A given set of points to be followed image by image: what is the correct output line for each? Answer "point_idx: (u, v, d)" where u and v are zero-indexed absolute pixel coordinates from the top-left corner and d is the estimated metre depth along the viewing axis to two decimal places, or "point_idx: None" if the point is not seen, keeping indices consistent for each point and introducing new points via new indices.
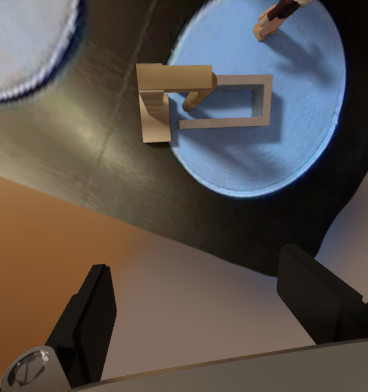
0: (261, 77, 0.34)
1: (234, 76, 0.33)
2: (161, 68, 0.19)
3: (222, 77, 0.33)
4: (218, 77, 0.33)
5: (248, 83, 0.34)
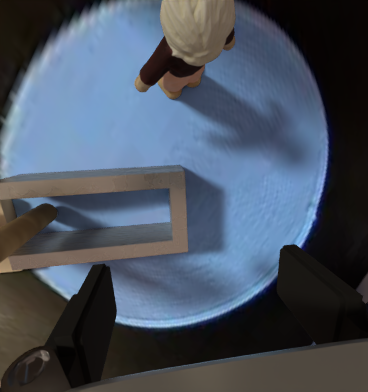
0: (162, 177, 0.18)
1: (107, 178, 0.17)
2: None
3: (81, 181, 0.17)
4: (73, 182, 0.17)
5: (138, 188, 0.18)
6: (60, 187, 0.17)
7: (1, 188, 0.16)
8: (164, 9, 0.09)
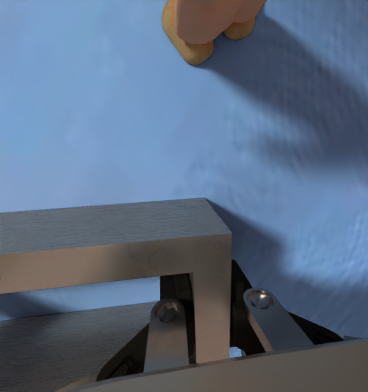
0: (176, 249, 0.07)
1: (29, 258, 0.06)
2: None
3: None
4: None
5: (113, 277, 0.07)
6: None
7: None
8: None
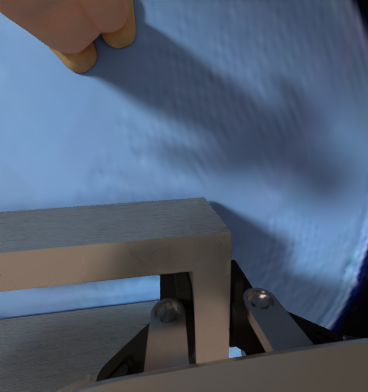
0: (176, 247, 0.07)
1: (30, 256, 0.06)
2: None
3: None
4: None
5: (114, 275, 0.07)
6: None
7: None
8: None
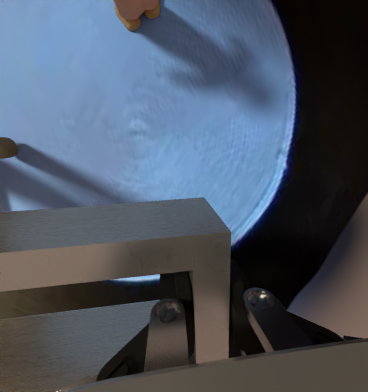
0: (175, 247, 0.07)
1: (31, 256, 0.07)
2: None
3: None
4: None
5: (114, 275, 0.07)
6: None
7: None
8: None
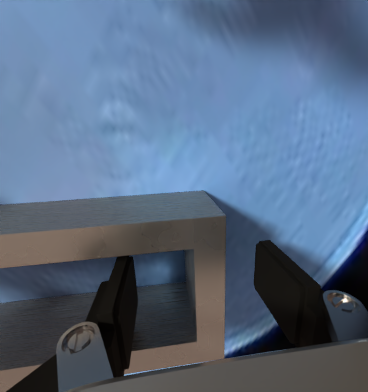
0: (179, 228, 0.08)
1: (60, 234, 0.08)
2: None
3: (2, 241, 0.08)
4: None
5: (128, 252, 0.08)
6: None
7: None
8: None
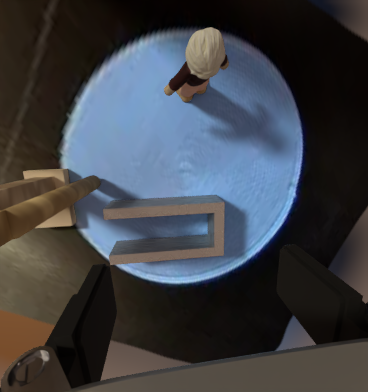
0: (210, 206, 0.27)
1: (175, 206, 0.27)
2: None
3: (160, 208, 0.27)
4: (155, 208, 0.27)
5: (194, 212, 0.27)
6: (147, 212, 0.27)
7: (112, 212, 0.26)
8: (188, 50, 0.17)
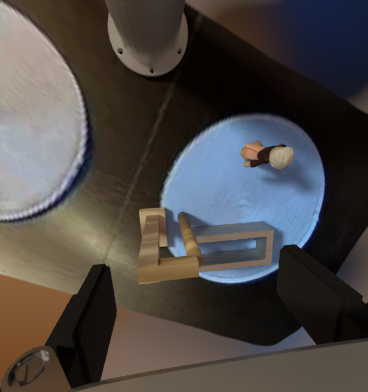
0: (264, 232, 0.40)
1: (242, 233, 0.40)
2: (157, 268, 0.24)
3: (232, 234, 0.40)
4: (229, 235, 0.40)
5: (253, 237, 0.41)
6: (223, 237, 0.40)
7: (201, 238, 0.39)
8: (273, 157, 0.29)
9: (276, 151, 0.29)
